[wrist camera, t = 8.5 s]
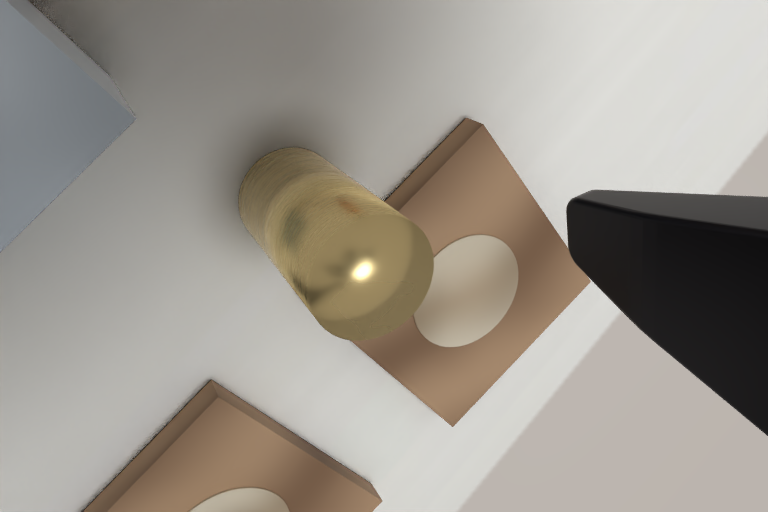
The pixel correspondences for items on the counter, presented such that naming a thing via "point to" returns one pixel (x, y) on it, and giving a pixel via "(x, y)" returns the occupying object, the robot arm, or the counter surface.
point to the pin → (336, 244)
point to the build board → (474, 274)
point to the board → (232, 467)
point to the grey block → (48, 114)
